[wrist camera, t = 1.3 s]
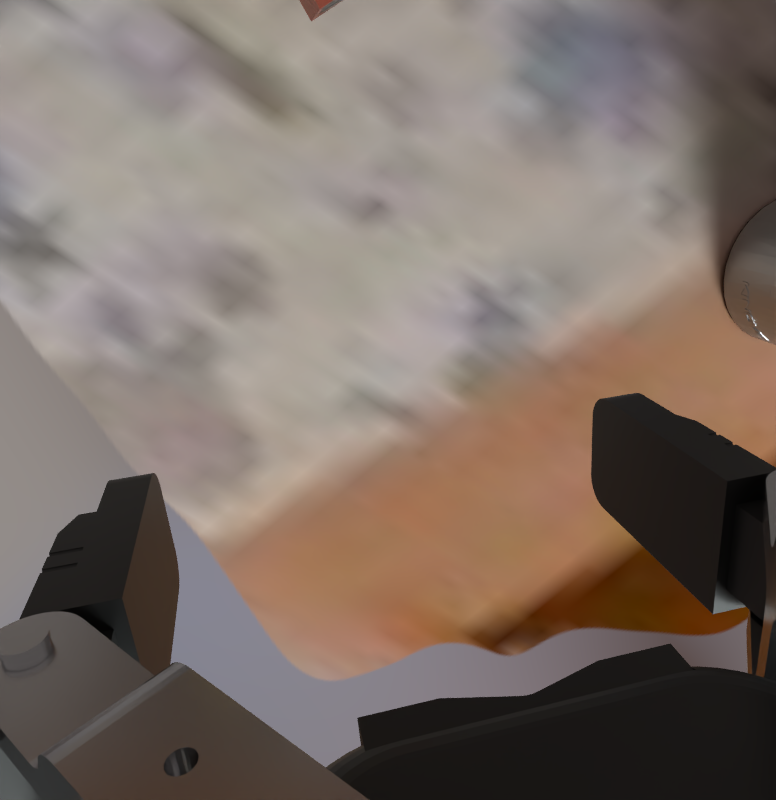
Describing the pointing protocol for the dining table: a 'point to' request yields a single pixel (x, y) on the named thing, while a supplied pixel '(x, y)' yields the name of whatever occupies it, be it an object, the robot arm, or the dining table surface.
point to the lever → (318, 7)
